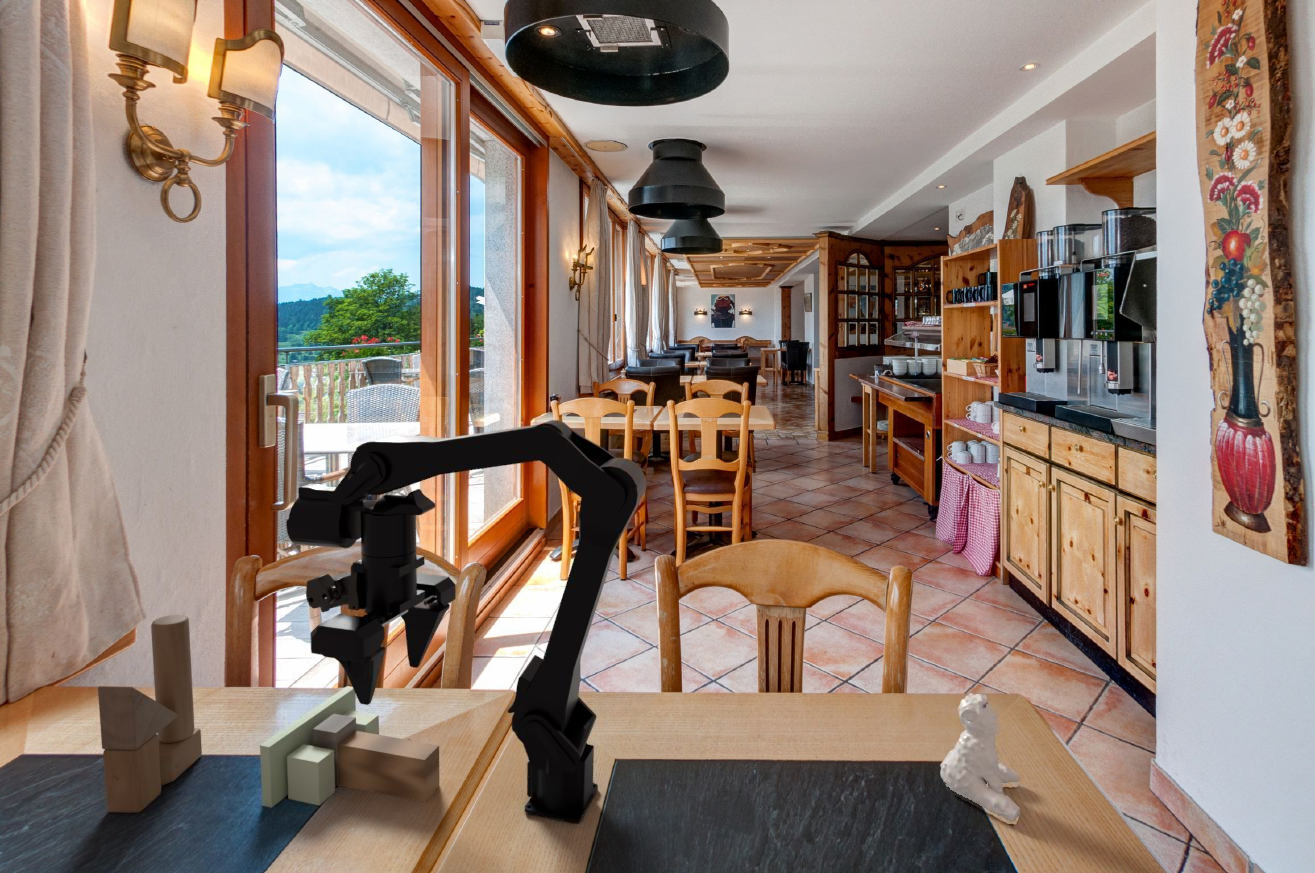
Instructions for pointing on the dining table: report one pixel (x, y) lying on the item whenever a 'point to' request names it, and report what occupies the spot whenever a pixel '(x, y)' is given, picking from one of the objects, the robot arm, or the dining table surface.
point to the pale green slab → (307, 754)
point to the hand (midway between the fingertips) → (391, 684)
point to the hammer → (379, 760)
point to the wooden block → (150, 723)
